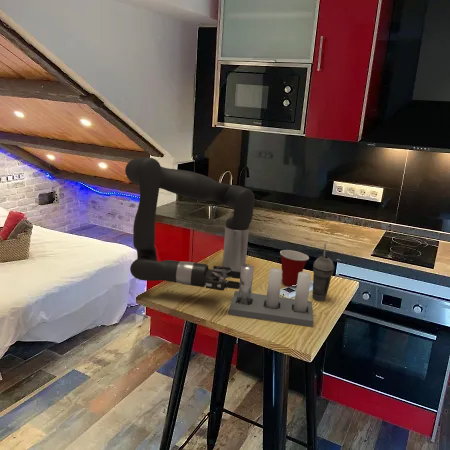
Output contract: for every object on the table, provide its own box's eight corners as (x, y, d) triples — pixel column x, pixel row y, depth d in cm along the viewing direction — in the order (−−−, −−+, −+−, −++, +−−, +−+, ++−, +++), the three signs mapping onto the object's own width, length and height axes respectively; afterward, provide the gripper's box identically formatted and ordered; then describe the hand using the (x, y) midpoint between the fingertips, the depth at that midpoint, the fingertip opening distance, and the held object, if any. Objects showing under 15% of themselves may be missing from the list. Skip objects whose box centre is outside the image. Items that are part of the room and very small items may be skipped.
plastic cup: (310, 288, 160) (315, 258, 157) (285, 290, 156) (289, 259, 153) (295, 277, 170) (299, 248, 166) (271, 279, 166) (274, 249, 162)
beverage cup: (314, 303, 148) (322, 248, 142) (304, 294, 154) (312, 241, 149) (333, 302, 150) (341, 248, 144) (323, 293, 156) (331, 241, 151)
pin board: (234, 296, 148) (238, 257, 144) (311, 307, 145) (316, 268, 141) (228, 314, 135) (232, 272, 131) (312, 326, 131) (318, 284, 128)
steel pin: (238, 303, 143) (242, 263, 139) (250, 304, 142) (254, 265, 139) (236, 308, 139) (240, 268, 135) (248, 310, 139) (253, 269, 135)
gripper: (187, 270, 133) (239, 277, 131) (197, 256, 147) (244, 262, 145) (186, 293, 135) (237, 300, 133) (196, 276, 149) (242, 282, 147)
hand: (241, 280), depth 139 cm, fingers open, 8 cm apart
